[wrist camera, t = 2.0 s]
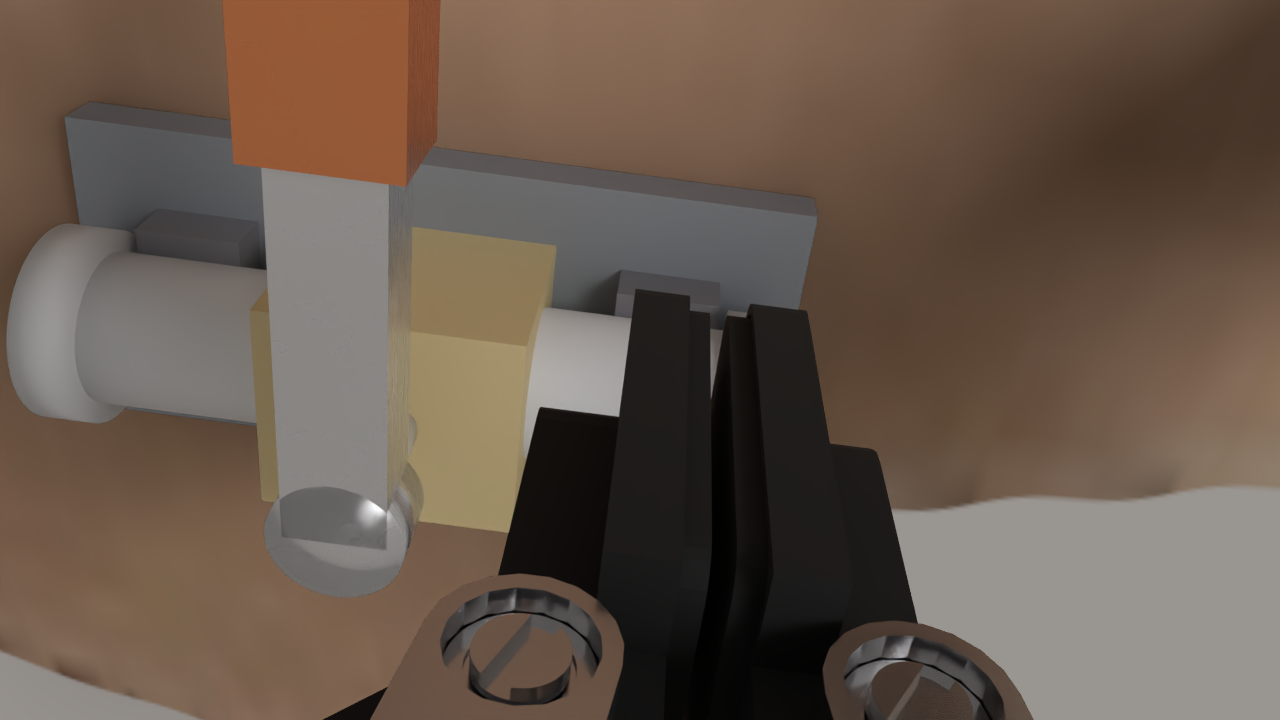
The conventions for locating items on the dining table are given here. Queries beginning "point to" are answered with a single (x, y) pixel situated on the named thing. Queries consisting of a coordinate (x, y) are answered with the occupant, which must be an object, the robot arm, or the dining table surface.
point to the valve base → (474, 203)
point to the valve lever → (337, 266)
